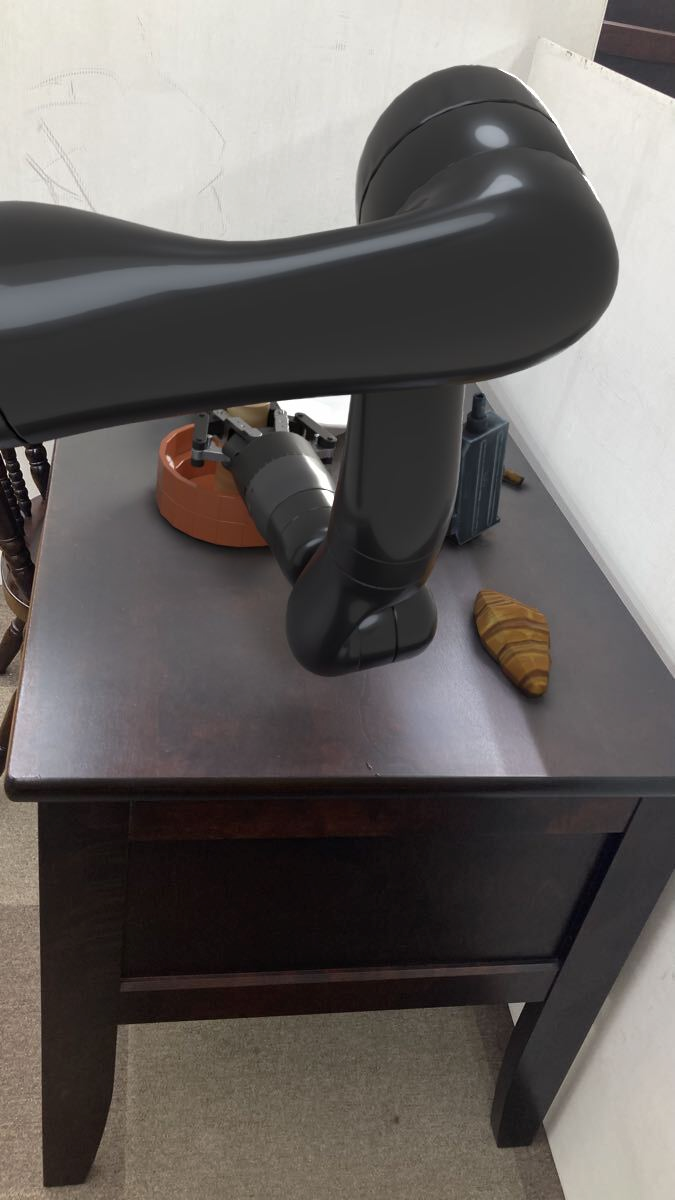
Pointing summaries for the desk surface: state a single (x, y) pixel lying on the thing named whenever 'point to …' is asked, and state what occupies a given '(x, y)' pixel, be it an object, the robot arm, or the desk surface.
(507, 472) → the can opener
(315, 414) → the bowl
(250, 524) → the clay bowl
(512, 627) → the croissant
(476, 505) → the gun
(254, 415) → the tan cylinder
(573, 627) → the desk surface
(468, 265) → the robot arm
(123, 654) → the desk surface
